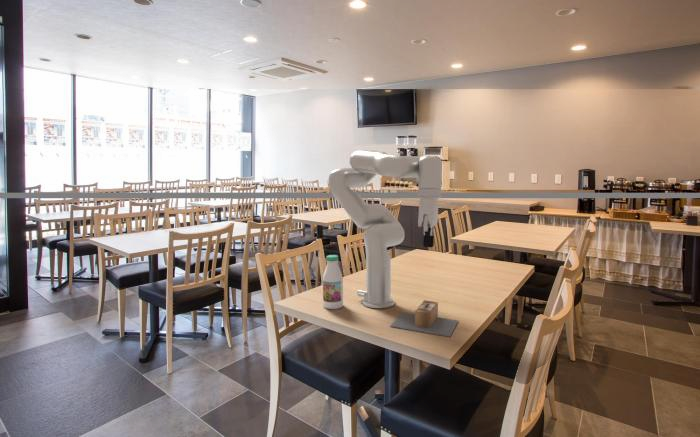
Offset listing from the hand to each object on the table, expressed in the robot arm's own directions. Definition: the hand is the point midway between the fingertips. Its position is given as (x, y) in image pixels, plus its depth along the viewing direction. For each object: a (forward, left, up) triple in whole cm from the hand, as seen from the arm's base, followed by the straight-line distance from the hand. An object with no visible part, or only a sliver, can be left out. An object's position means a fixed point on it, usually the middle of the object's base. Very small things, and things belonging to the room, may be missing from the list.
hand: (428, 246), depth 136 cm
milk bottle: (-37, -1, -26) cm, 45 cm away
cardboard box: (0, +5, -23) cm, 24 cm away
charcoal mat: (0, -4, -26) cm, 27 cm away
